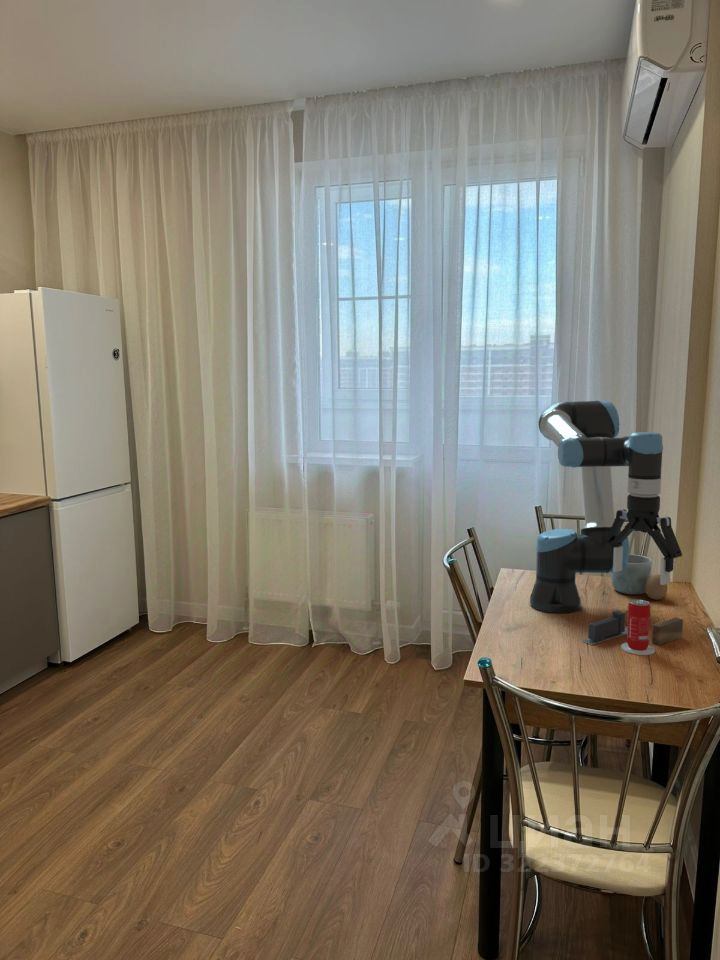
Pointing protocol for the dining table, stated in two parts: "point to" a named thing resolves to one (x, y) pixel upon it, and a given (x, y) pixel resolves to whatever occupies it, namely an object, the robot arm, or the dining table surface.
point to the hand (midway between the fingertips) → (640, 577)
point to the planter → (633, 575)
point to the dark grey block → (607, 626)
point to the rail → (605, 637)
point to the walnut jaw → (667, 631)
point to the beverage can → (638, 625)
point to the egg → (655, 587)
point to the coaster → (649, 651)
